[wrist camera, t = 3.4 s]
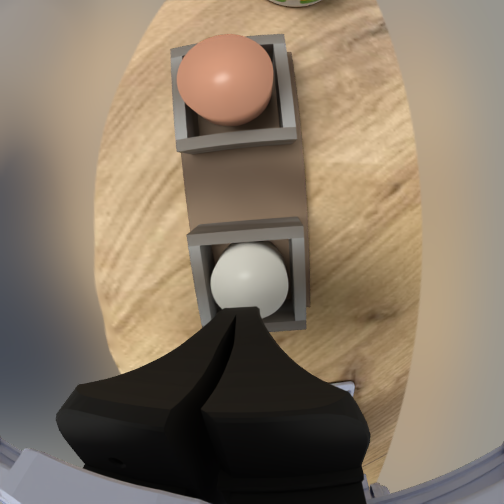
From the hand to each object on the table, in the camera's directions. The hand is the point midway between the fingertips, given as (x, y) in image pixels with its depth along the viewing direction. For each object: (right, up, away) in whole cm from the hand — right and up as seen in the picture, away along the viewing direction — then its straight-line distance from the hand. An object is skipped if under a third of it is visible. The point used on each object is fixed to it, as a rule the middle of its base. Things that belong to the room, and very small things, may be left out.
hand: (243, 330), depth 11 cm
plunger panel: (0, +7, +7) cm, 10 cm away
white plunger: (0, +2, +6) cm, 7 cm away
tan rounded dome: (-1, +11, +2) cm, 11 cm away
